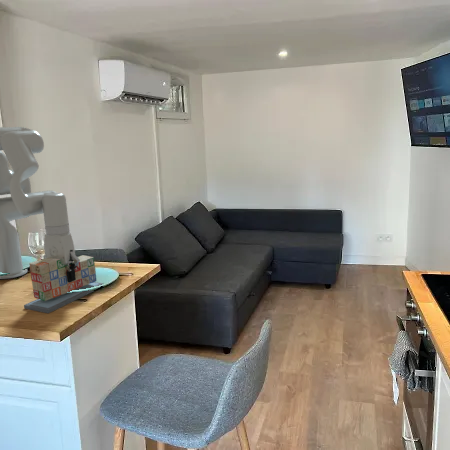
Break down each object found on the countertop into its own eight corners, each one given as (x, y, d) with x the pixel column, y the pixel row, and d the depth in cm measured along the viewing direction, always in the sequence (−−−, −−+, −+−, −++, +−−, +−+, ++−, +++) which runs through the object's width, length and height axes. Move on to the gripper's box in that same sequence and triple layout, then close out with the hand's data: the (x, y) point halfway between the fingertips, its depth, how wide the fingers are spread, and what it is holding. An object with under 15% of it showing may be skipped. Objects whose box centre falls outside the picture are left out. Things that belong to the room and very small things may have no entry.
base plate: (24, 308, 149) (23, 304, 149) (81, 282, 171) (80, 279, 171) (48, 313, 144) (47, 309, 144) (103, 286, 167) (103, 283, 166)
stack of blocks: (86, 278, 168) (82, 246, 165) (97, 281, 165) (93, 249, 162) (33, 297, 151) (28, 262, 148) (44, 301, 148) (39, 265, 145)
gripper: (30, 230, 153) (37, 280, 157) (68, 234, 146) (74, 286, 149) (47, 225, 160) (54, 273, 164) (85, 229, 152) (90, 279, 156)
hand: (63, 279), depth 157 cm, fingers closed on stack of blocks, 6 cm apart
